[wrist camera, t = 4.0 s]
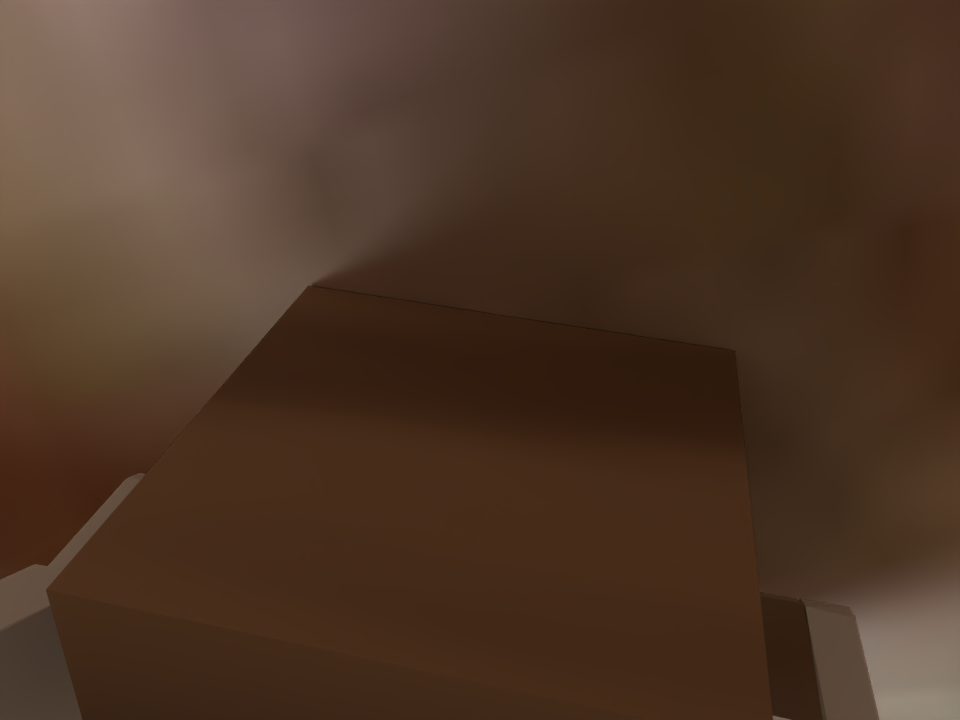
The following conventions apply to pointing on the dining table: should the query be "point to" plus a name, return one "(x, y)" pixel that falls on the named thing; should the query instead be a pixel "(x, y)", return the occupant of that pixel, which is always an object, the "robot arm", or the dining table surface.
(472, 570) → the walnut block
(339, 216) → the dining table surface
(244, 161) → the dining table surface
